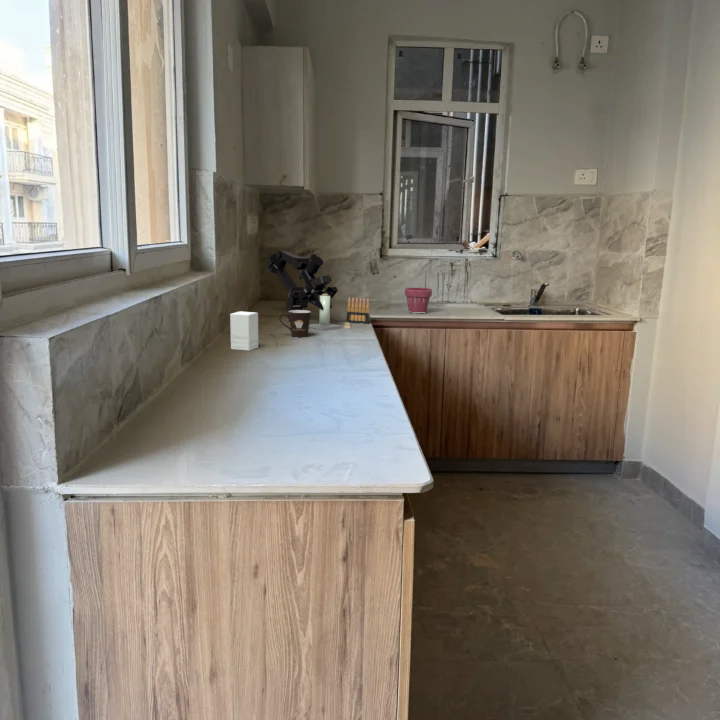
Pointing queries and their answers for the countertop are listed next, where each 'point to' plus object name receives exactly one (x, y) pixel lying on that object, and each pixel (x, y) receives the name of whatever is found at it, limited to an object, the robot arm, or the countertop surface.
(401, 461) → the countertop surface
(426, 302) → the plant pot
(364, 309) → the ammunition clip
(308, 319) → the coffee mug
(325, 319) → the stoneware bottle
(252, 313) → the supplement box
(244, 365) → the countertop surface
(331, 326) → the slate trivet
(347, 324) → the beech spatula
